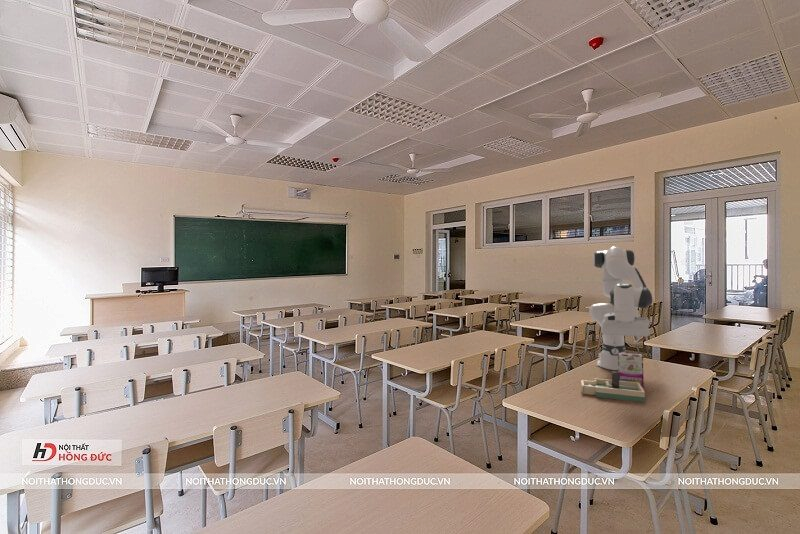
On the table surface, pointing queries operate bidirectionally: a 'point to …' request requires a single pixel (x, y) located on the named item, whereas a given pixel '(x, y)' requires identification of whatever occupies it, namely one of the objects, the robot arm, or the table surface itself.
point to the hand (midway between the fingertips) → (624, 344)
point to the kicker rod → (613, 381)
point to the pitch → (614, 390)
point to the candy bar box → (630, 367)
